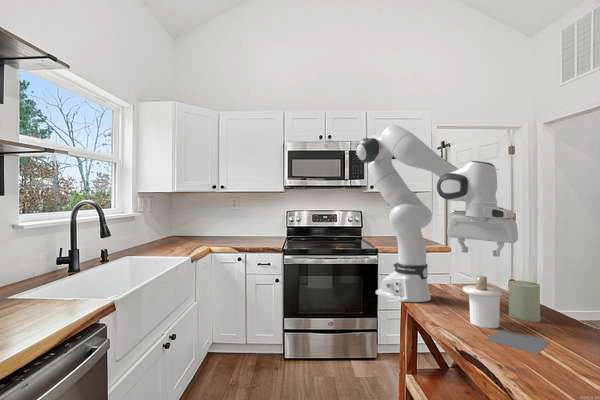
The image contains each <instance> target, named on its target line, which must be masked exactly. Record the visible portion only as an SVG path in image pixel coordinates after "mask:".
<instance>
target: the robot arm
mask: <svg viewBox="0 0 600 400" xmlns="http://www.w3.org/2000/svg"><path fill="white" fill-rule="evenodd" d="M355 154H356V157H357V159H358V160H359V161H360V162H362V163H364V164H365V163H366V164H368V166H367V170H368V173H369V175H370V178H371V180H372V183H373V184H374V186H375V187H376V188H377V191H378V192H379V193H380V195H381V196H382V198H383V199H384V201H385V202H386V203H387V204H388V205H390V206H391V207H392V209H391V211H390V213H389V222H390V224H391V226H392V227H393V229H394V232H395V233H394V234H395V237H396V241H397V260H398V261H397V262H395V263H393V264H392V267H393V268H394V270H393V271H392V272H391V273H389V274H388V275H387V276H386V277H383V279H382V281H381V285H380V288H378V289H376V290H375V295H379V296H381V297H384V298H386V299H391V300H394V301H397V302H400V303H407V302H408V303H410V302H411V303H424V302H429V301H430V300H432V297H431V294H430V290H429V284H428V273H429V272H428V270H429V269H428V263H427V245H426V242H425V240H424V238H423V234H422V233H423V231H422V229H424V228H425V227H427V226H429V224H430V223H432V222H431V221H432V219H433V213H432V211H431V209H430V208H429V207H428V206H427V205H425V204H424V203H423V201H421V199H420V198H419V197H418V196H417V195H416V194H415V193H414V192H413V191H412V190H411V189H410V188H409V187H408V185H407V184H406V181H404V179H403V178H402V177H401V175H400V174H399V172H398V171H397V169H396V168H395V167H394V165H393V160H397V161H398V162H400V163H402V164H404V165H406V166H408V167H412V168H416V169H423V170H425V171H428V172H431V173H433V174H434V175H436V176H437V177H438V180H437V183H436V191H437V194H438V195H439V197H441V198H442V199H443V200H446V201H455V202H465V210H456V209H455V210H452V211H450V212H449V213H448V215H447V216H448V217H447V218H448V219H447V220H448V224H447V231H446V233H447V236H448V237H449V238H453V239H457V242H458V244H459V245H460V247H461V253H468V252H469V246H466V243H465V241H466V240H474V241H475V240H476V241H483V242H495V243H496V246H497V248H496V249H494V250H492V256H493V257H497V258H499V257H500V255H501V251H502V249H503V248H504V246H505V244H506V243H507V244H514V243H517V241H518V240H519V239H518V238H519V231H518V224H517V222H516V220H515V219H514V217H515V211H513V210H510V209H507V208H504V207H500V206H498V201H497V200H498V199H497V197H496V194H497V191H498V172H497V168H496V165H494V164H493V163H490V162H487V161H479V160H471V161H469V162H468V163H467V164H466V165H464V166H463V167H461V168H458V167H456V166H455V165H453V164H452V163H451V162H449V161H447V160H446V159H445V158H444V157H442V156H440V155H439V154H437V152H436V151H434V150H433V149H432V148H430V147H429V146H428V145H427V144H425V142H424V141H422V140H421V139H420V138H419V137H417V136H416V135H415V134H413V132H411V131H409V130H407V129H406V128H403V127H401V126H399V125H397V124H391V125H388V126H387V127H386V128H385V129H384V130H383V131H382V132H380V133H376V134H374V135H371V136H368V137H364V138H362V139H361V140H359V141H358V142H357V143H356V146H355Z"/></svg>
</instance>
